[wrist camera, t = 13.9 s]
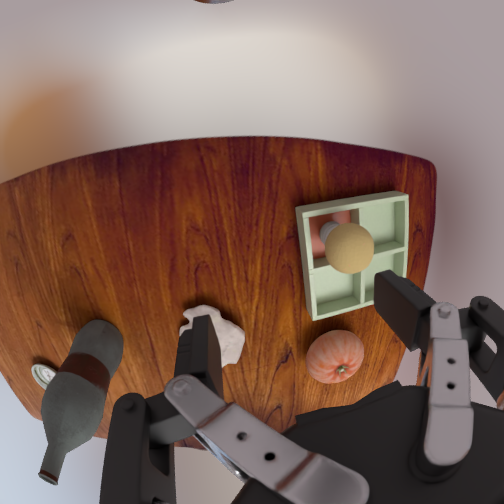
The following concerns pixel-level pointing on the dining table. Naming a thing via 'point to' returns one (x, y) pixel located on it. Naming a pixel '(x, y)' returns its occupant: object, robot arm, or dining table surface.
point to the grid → (385, 254)
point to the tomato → (334, 356)
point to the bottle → (79, 393)
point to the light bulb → (347, 246)
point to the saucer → (43, 374)
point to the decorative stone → (220, 332)
